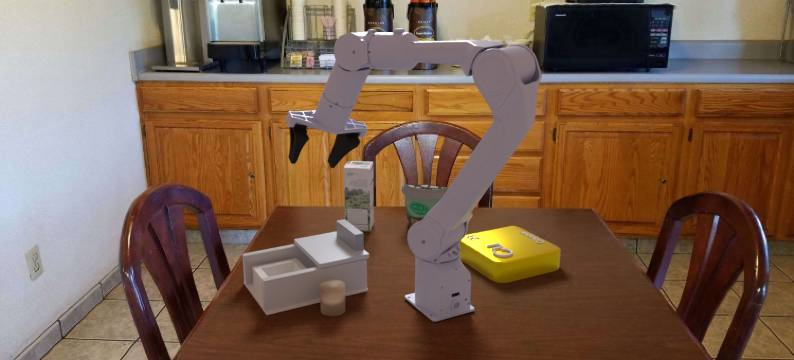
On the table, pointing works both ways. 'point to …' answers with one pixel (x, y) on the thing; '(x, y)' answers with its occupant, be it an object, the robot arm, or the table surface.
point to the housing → (295, 278)
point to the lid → (334, 246)
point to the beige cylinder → (332, 297)
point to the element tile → (509, 254)
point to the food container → (421, 200)
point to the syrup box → (359, 194)
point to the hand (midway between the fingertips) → (311, 162)
